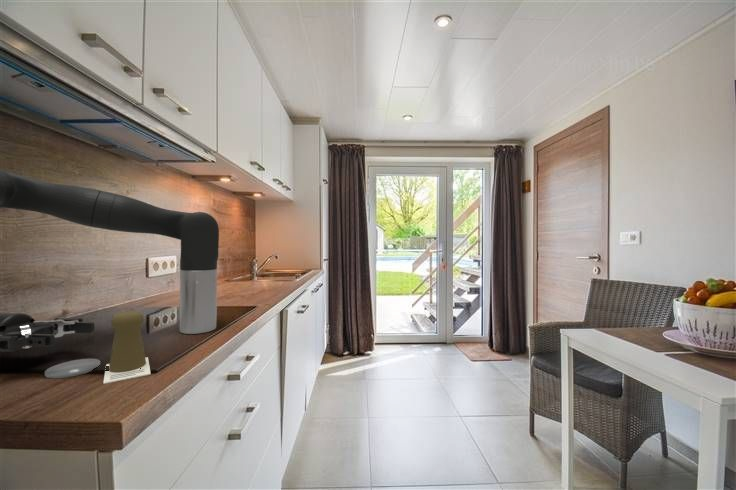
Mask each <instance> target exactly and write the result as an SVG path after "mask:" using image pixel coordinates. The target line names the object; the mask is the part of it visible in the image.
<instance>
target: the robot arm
mask: <svg viewBox="0 0 736 490" xmlns="http://www.w3.org/2000/svg"><path fill="white" fill-rule="evenodd" d="M0 208H5V209H15V210H21V211H30V212H36V213H41V214H45V215H49V216H52V217H55V218H58V219H61V220H64V221H67V222H71V223H74V224H79V225H82V226H87V227H91V228H97V229H103V230H107V231H113V232H125V233H131V234H133V233H134V234H151V235H159V236H164V237H169V238H171V239H176V240H180V255H179V256H180V257H179V332H180V333H182V334H187V335H192V334H193V335H194V334H195V335H196V334H197V335H198V334H204V333H209V332H211V331H214V330H216V329H217V316H218V315H217V314H218V313H217V311H218V310H217V307H218V305H217V304H218V303H217V302H218V297H217V293H218V261H219V248H220V245H219V244H220V243H219V242H220V241H219V240H220V230H219V223H218V221H217V220H216V218H215V217H214V216H212V215H211V214H209V213H207V212H203V211H195V212H186V211H177V210H171V209H166V208H161V207H159V206H156V205H153V204H150V203H147V202H145V201H141V200H139V199H136V198H132V197H129V196H126V195H122V194H119V193H118V194H117V193H113V192H110V191H105V190H100V189H95V188H91V187H90V188H89V187H83V186H77V185H68V184H60V183H54V182H53V183H52V182H48V181H44V180H43V181H42V180H38V179H35V178H32V177H27V176H25V175H21V174H18V173H14V172H11V171H8V170H5V169H1V168H0ZM55 331H57V333H54V332H55ZM94 332H95V323H94V322H92V321H91V322H90V321H88V322H87V321H84V318H83V317H82V318H81V317H79V318H78V317H77V318H76V317H56V318H53V320H36V319H34V318H33V317H32V316H31V315H29V314H27V313H19V312H0V352H2V353H4V352H5V353H8V352H9V353H10V352H11V353H15V352H16V351H20V350H21V349H29V348H32V347H35V348H51V347H53V346H55V340H56V338H61V337H63V336H64V335H66V334H67V335H68V334H69V335H70V334H91V333H94Z"/></svg>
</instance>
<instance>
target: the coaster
mask: <svg viewBox="0 0 736 490" xmlns="http://www.w3.org/2000/svg"><path fill="white" fill-rule="evenodd" d="M99 365H100V366H101V360H100V359H98V358H80V359H74V360H69V361H64V362H61V363H58V364H55V365H53V366H50V367H48V368H47V369H46V370H44V377H45V378H47V379H65V378H72V377H76V376H81V375H84V374H87V373H90V372H93V371H94V370H93V369H94V368H96V367H98V366H99ZM100 366H99V367H100ZM99 367H98V368H99ZM92 370H93V371H92Z"/></svg>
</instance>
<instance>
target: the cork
mask: <svg viewBox="0 0 736 490" xmlns="http://www.w3.org/2000/svg"><path fill="white" fill-rule="evenodd" d="M144 319H145V318H144V314H143V313H142V312H140V311H136V310H135V311H134V310H129V311H122V312H118V313H116V314H114V316H112V319H111V328H112V329H113V330H114V336H113V340H112V346H111V347H112V348H111V352H110V353H111V354H110V359H109V364H110V365H109V371H110V372H114V373H120V372H127V371H132V370H136V369H138V368H141V367H143V366H144V365H145V364H146V360H145V358H146V354H145V348H144V343H143V337H142V336H143V335H142V330H141V327H142V326H143V324H144Z"/></svg>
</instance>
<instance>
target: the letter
mask: <svg viewBox="0 0 736 490" xmlns="http://www.w3.org/2000/svg"><path fill="white" fill-rule="evenodd" d="M145 360H146V364H145V365H144V366H143V367H141V369H140V368H138V369H136V370H132V371H127V372H120V373H114V372H110V371H105V370H104V377H103V382H102V384H103V385H106V384H110V383H115V382H119V381H120V382H121V381H125V380H129V379H136V378H140V377H146V376H150V375H152V374H151V367H150V361H149V357H146V356H145ZM109 365H110V363H106V365H105V367H106V366H109Z"/></svg>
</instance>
